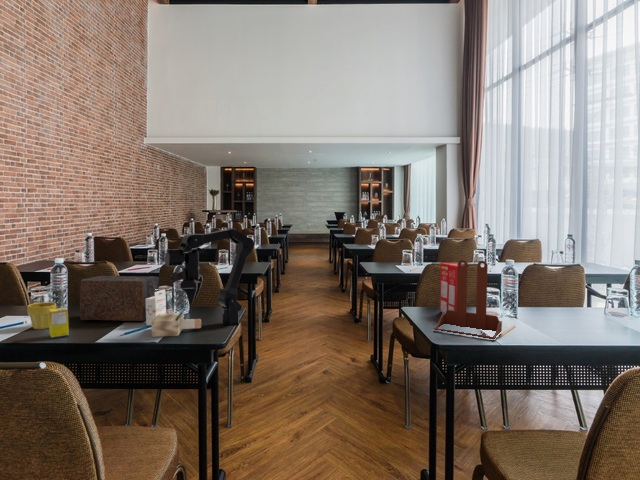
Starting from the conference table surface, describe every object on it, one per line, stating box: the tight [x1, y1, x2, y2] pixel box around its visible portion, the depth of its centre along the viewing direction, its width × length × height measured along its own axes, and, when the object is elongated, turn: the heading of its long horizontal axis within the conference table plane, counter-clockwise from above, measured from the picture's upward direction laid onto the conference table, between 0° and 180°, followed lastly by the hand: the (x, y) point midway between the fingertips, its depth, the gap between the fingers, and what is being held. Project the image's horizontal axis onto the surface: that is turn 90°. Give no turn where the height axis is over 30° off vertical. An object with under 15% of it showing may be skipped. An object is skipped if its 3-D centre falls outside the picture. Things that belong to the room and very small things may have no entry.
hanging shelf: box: [433, 259, 503, 339], centre depth 178 cm, size 24×13×30 cm, turn 56°
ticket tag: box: [181, 318, 202, 330], centre depth 178 cm, size 16×1×4 cm, turn 99°
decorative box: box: [79, 275, 160, 322], centre depth 200 cm, size 31×20×20 cm
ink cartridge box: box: [145, 288, 167, 326], centre depth 191 cm, size 9×5×15 cm, turn 168°
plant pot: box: [26, 301, 57, 330], centre depth 183 cm, size 10×10×10 cm
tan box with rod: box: [151, 310, 185, 338], centre depth 178 cm, size 10×14×7 cm
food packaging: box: [439, 262, 464, 313], centre depth 209 cm, size 15×5×25 cm, turn 13°
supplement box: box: [48, 306, 70, 340], centre depth 169 cm, size 6×6×11 cm
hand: (192, 301), depth 180 cm, fingers open, 9 cm apart
